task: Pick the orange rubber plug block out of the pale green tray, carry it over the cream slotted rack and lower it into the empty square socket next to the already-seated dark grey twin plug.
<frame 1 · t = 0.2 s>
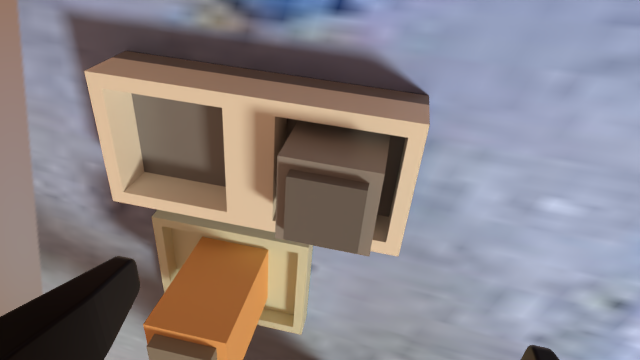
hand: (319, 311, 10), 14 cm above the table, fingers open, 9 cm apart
cream slotted rack: (269, 137, 24), on the table
plug: (235, 268, 30), point 1 cm above the table, touching tray
tray: (239, 262, 30), on the table
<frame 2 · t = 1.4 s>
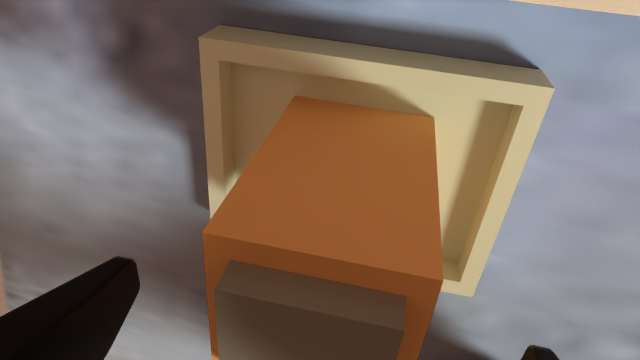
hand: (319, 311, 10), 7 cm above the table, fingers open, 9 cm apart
plug: (354, 166, 15), point 1 cm above the table, touching tray
tray: (356, 158, 16), on the table
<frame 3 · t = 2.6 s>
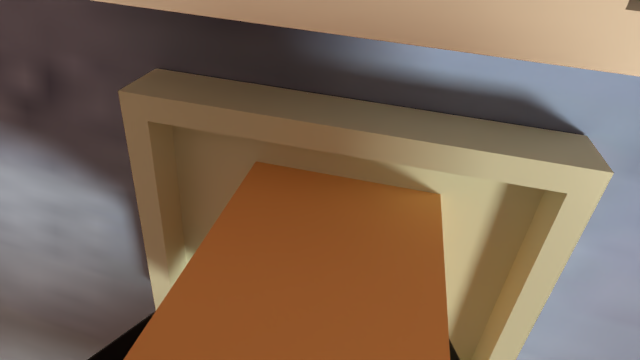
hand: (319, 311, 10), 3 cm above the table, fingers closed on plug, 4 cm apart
plug: (335, 248, 12), point 1 cm above the table, touching gripper, tray
tray: (339, 234, 12), on the table
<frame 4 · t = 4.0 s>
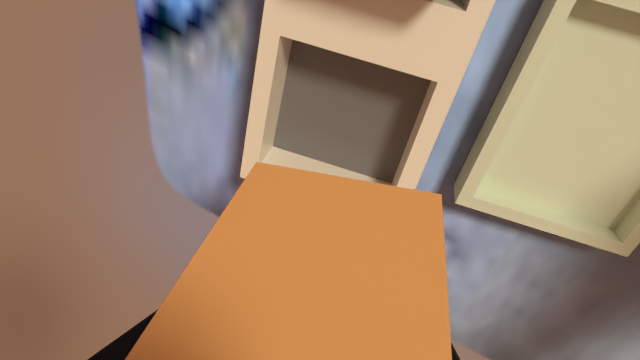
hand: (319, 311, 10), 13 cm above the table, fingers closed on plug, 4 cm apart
cream slotted rack: (378, 6, 18), on the table
plug: (336, 248, 12), point 10 cm above the table, touching gripper
tray: (591, 119, 19), on the table
when the fingers open (4 cm above the table, at t = 5.7 s): plug stays where it is, resting on cream slotted rack.
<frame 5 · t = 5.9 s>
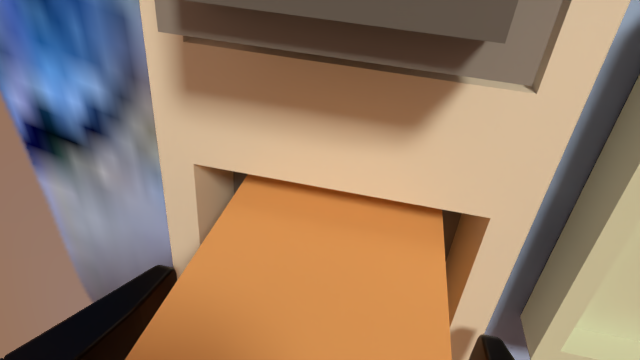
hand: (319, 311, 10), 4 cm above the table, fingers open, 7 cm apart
cream slotted rack: (363, 75, 11), on the table
plug: (339, 236, 12), point 1 cm above the table, touching cream slotted rack
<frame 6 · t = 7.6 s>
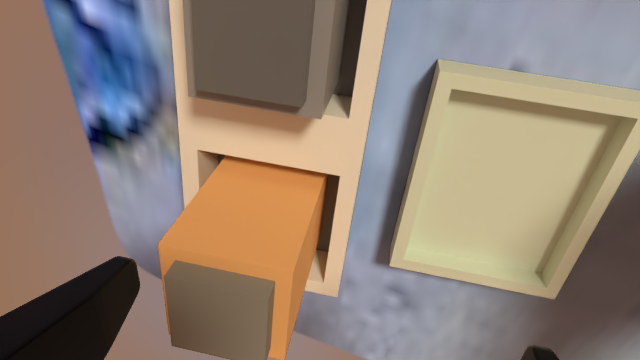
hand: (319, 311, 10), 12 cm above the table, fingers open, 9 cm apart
cream slotted rack: (289, 103, 20), on the table
plug: (278, 193, 21), point 1 cm above the table, touching cream slotted rack
tray: (498, 180, 20), on the table
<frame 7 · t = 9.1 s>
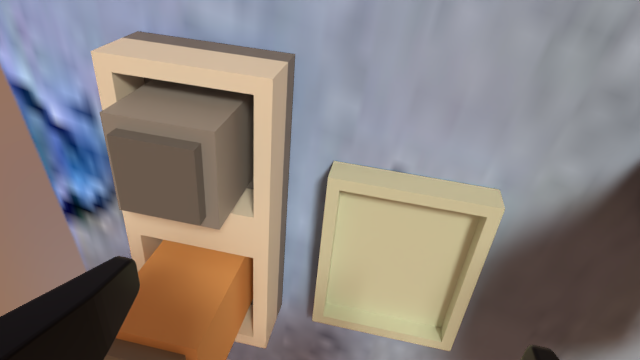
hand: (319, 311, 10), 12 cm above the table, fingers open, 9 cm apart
cream slotted rack: (221, 189, 24), on the table
plug: (216, 261, 25), point 1 cm above the table, touching cream slotted rack
tray: (396, 252, 24), on the table
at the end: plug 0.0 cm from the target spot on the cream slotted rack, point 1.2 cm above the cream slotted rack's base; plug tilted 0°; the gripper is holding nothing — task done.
